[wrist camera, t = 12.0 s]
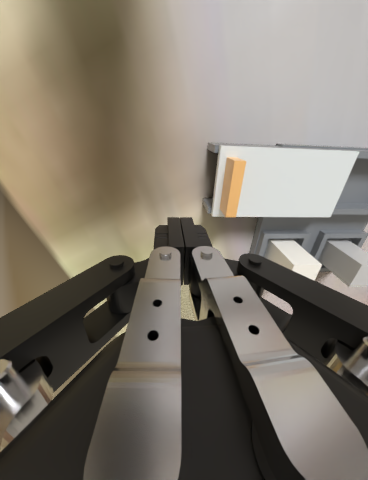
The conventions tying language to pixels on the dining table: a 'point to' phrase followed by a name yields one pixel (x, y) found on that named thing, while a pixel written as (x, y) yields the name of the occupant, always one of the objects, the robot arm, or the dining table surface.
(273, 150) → the lid
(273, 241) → the white jaw block
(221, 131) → the dining table surface
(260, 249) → the housing
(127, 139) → the dining table surface
